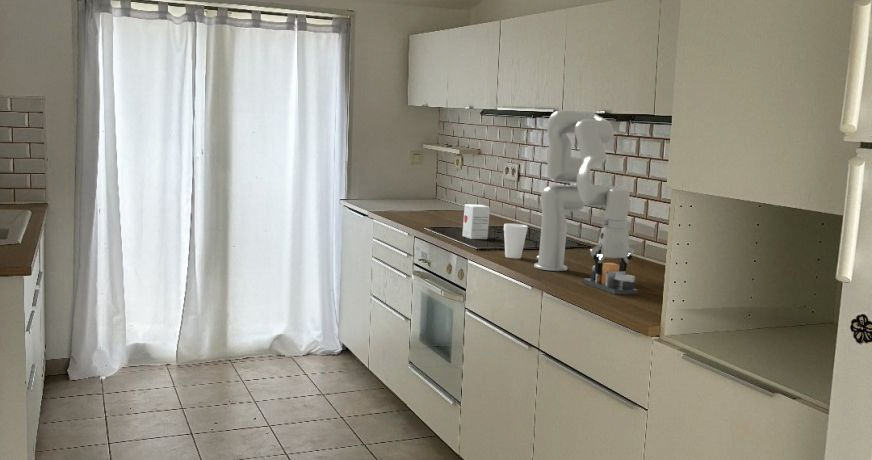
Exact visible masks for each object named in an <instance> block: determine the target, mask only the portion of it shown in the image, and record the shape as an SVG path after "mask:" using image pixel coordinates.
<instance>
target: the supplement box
mask: <svg viewBox="0 0 872 460" xmlns="http://www.w3.org/2000/svg"><path fill="white" fill-rule="evenodd" d="M490 211H491V206H487V205H484V204H473V203H472V204H471V203H469V204H468V203H467V204H466V203H465V204H464V210H463V224H462V236H461V237H464V238H467V239H470V240H487V239H488V236H489V225H490V224H489V223H490V214H491V213H490Z"/></svg>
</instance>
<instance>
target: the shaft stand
mask: <svg viewBox="0 0 872 460" xmlns="http://www.w3.org/2000/svg"><path fill="white" fill-rule="evenodd" d="M602 269H603V267H602ZM625 273H627V271H626V272H625V271H607V275H606V284H603V283H601V280H602V274H601V275H599V274H596V273H595V264H594V265H592V267H591V272H590V278H588V277H587V278H586V277H585V278H582V283H583V284H585V285H587V286H590V287H593V288H595V287H596V289H598V288H599V290H601V289H602V290H601V291H603V290H605V291H604V292H606V291H607V293H609V292H610V293H609V294H611V293H612V295H614V294H617V295H618V294H619V295H621V294H623V295H624V296H625V295H638V292H639V291H638V289H637V288H635V279H636V276H635V275H630V274H628V273H627V274H625ZM619 295H618V296H619ZM621 296H622V295H621Z"/></svg>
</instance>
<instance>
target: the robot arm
mask: <svg viewBox="0 0 872 460" xmlns="http://www.w3.org/2000/svg"><path fill="white" fill-rule="evenodd" d="M546 128H547V129H546V130H547V139H548V155H547V169H546V170H547V171H546V173H547V177H548V179H549V180H551V181H553V182H559V183H569V185H565V184H564V185H561V184H560V185H558V184H553V185H548V186H546V187H545V188H544V189H542V192H541V193H540V194H541V195H540V196H541V197H540V200H541V201H540V202H541V227H540V228H541V230H540V239H539V240H540V242H539V251H538V255H537V256H536V259H537V260H538V262H535V263H534V264H533V267H534V268H535V269H539V270H542V271H543V270H544V271H548V272H549V271H551V272H553V271H554V272H562V271H568V266H567V265H565V264H564V262H565V251H566V242H567V230H568V223H567V218H566V215H565V214H564V212H578V211H581V210H583V209H584V208H585V207H586V206H587V207H591V208H593V207H594V208H595V207H598V208H601V207H602V208H605V210H604V211H605V212H604V218H603V220H602V221H600V223H601V226H603V227H602V228H601V231H600V234H599V237H598V241H597V242H598V244H597V245H595V246H594V247H592V248H590V249H589V253H590V255H591V259H593V262H594V265H595V273H596V274H599V275H601V274H602V268H603V261H604V260H605V259H620V261H619V264H618V265H619V271H625V272H626V273H627V266H628V263H629V262H630V260H631V259H632V258H633V256H634V254H635V251H636V250H635V249H633V248H632V247H630V235H629V234H630V233H629V229H627V225H628V214H629V204H630V195H631V193H630V190H628V189H626V188H622V187H620V188H619V187H618V186H614V185H609V184H608V185H607V184H606V185H604V184H593V183H592V180H591V175H590V172H591V170H592V169H593V168H596V167H599V166H601V165H602V164H603V163H604V162H605V161H606V160H607V154H606V150H605V147H604V145H605V144H609V143H611V142H612V141H613V139H614V136H615V132H614V128H613V125H612V123H611V122H610V121H609V120H607V119H606V118H604V117H602V116H599V114H597V113H595V112H592V111H587V110H586V111H583V110H574V109H560V110H555V111H554V112H552V113H551V115H549V118H548V121H547V127H546ZM567 134H574V135H575V139H576V143H577V146H578V150H579V155H580V157H578V156H577V157H576V156H572V147H573V146H572V142H571V138H569V136H568V135H567ZM626 273H625V274H626Z"/></svg>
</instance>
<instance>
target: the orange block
mask: <svg viewBox="0 0 872 460" xmlns="http://www.w3.org/2000/svg"><path fill="white" fill-rule="evenodd" d="M619 265H620V264H617V263H615V262H602V268H603V269H602V280H601V283H603V284H606V275H607V271H619Z"/></svg>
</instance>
